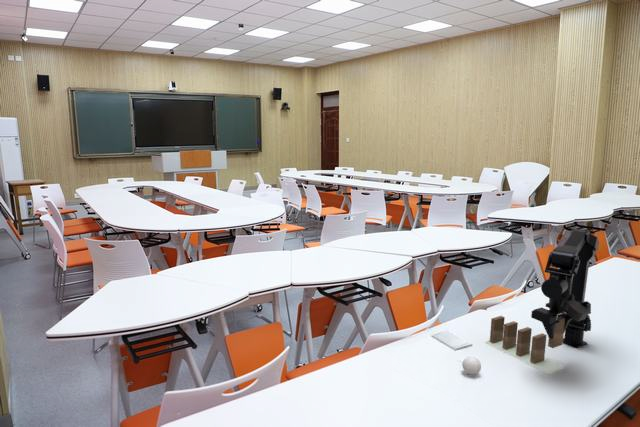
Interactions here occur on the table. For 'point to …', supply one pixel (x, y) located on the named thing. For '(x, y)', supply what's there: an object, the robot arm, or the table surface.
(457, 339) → the hard drive
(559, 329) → the domino
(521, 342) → the domino
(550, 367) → the mat
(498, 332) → the domino
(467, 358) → the white sphere
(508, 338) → the domino
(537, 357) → the domino
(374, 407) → the table surface
